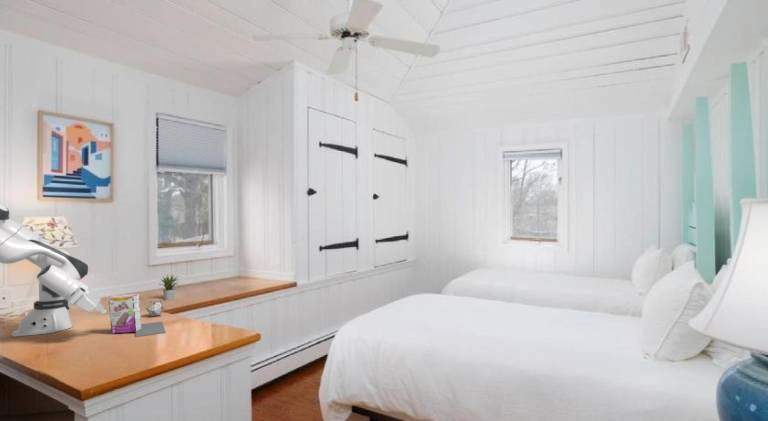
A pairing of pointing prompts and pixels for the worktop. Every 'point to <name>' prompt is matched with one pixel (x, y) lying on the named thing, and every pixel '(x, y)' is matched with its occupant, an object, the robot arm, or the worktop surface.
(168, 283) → the house plant
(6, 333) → the worktop surface
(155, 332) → the mat
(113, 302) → the candy bar box
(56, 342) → the worktop surface
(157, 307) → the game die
